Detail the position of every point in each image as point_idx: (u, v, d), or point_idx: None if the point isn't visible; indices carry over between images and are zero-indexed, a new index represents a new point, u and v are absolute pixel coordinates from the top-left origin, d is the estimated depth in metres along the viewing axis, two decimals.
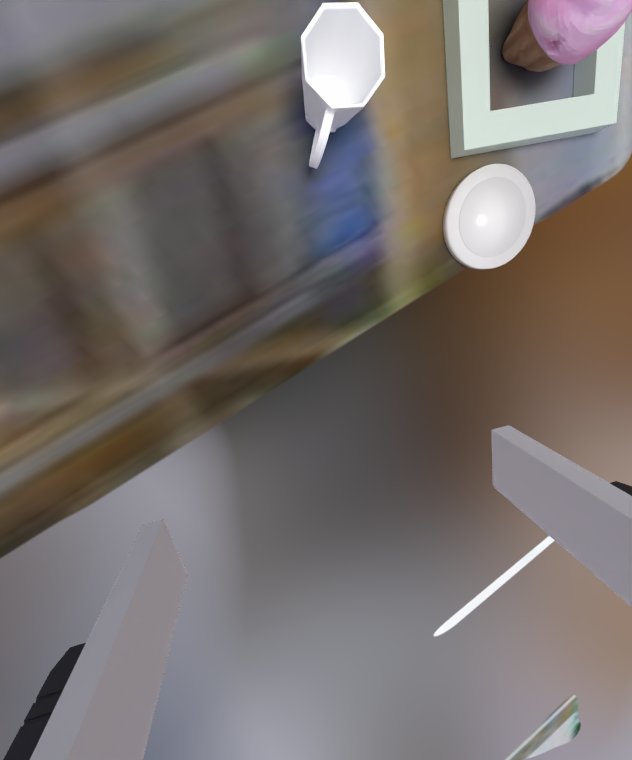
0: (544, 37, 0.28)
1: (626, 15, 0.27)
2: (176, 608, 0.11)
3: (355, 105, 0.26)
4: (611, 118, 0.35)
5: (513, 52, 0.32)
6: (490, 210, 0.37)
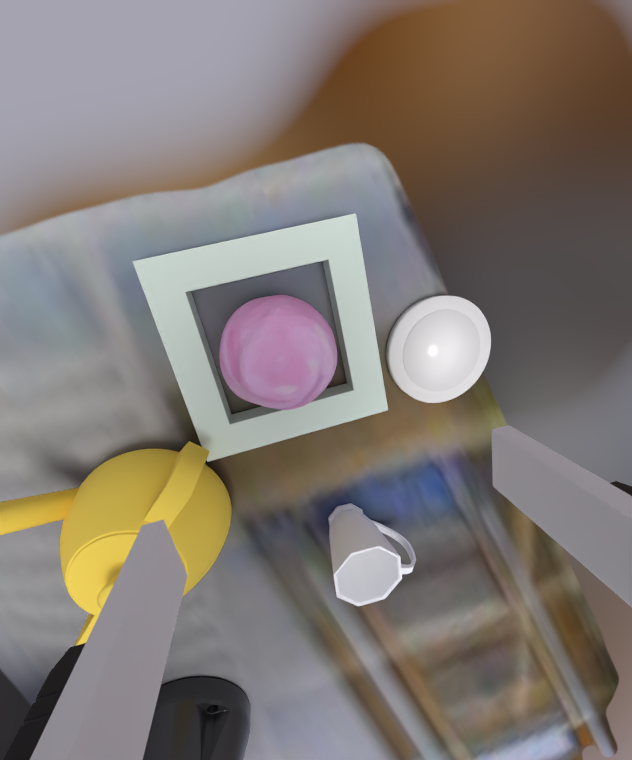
0: None
1: (317, 324, 0.22)
2: (176, 608, 0.11)
3: (399, 562, 0.31)
4: (351, 223, 0.27)
5: None
6: (434, 357, 0.33)
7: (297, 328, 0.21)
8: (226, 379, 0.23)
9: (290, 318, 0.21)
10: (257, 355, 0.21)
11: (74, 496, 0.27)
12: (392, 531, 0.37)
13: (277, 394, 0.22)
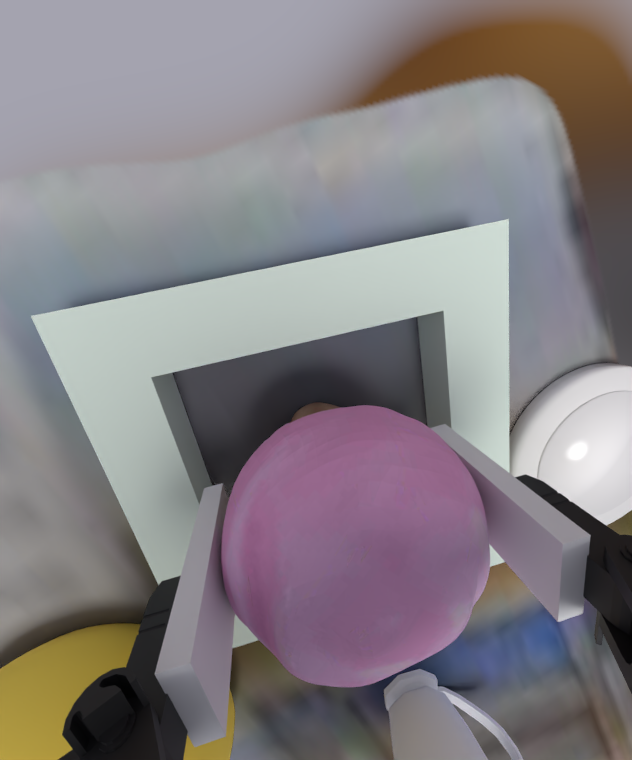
0: None
1: (474, 508, 0.09)
2: None
3: None
4: (497, 239, 0.13)
5: None
6: (588, 468, 0.19)
7: (435, 537, 0.08)
8: None
9: (418, 512, 0.08)
10: (325, 611, 0.08)
11: None
12: (483, 714, 0.24)
13: (365, 680, 0.09)
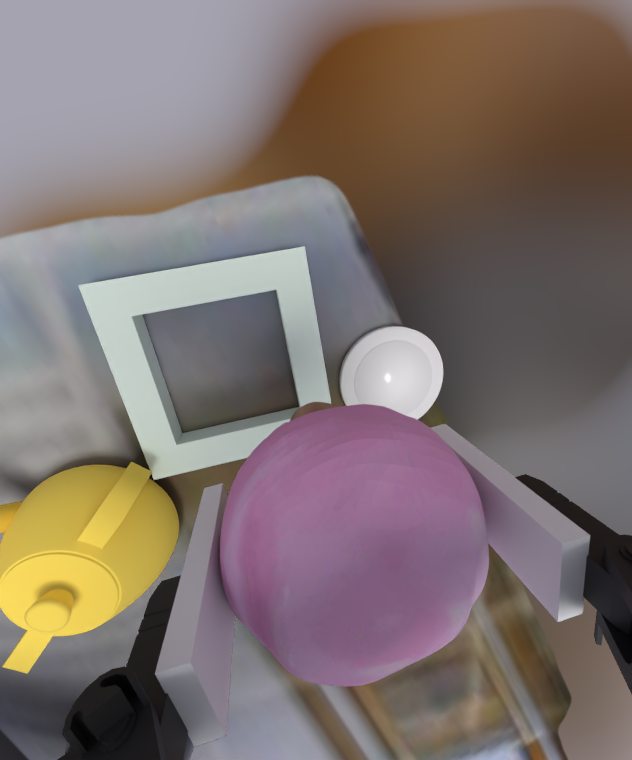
0: None
1: (472, 507, 0.09)
2: None
3: None
4: (300, 255, 0.27)
5: None
6: (385, 386, 0.33)
7: (433, 535, 0.08)
8: (235, 613, 0.10)
9: (416, 511, 0.08)
10: (323, 610, 0.08)
11: (16, 510, 0.28)
12: None
13: (363, 679, 0.09)
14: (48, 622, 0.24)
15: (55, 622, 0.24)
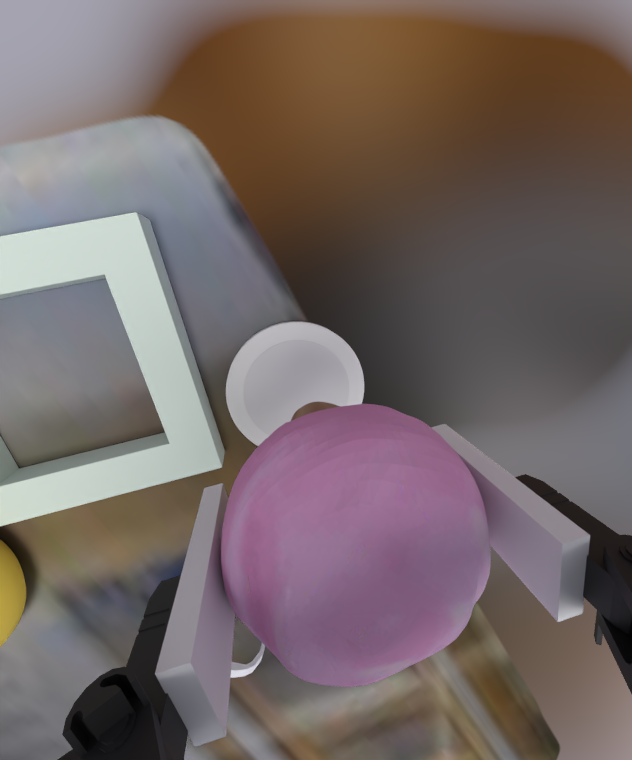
0: None
1: (474, 507, 0.09)
2: None
3: None
4: (132, 225, 0.19)
5: None
6: (287, 400, 0.26)
7: (435, 535, 0.08)
8: (236, 614, 0.10)
9: (418, 511, 0.08)
10: (325, 611, 0.08)
11: None
12: None
13: (365, 680, 0.09)
14: None
15: None
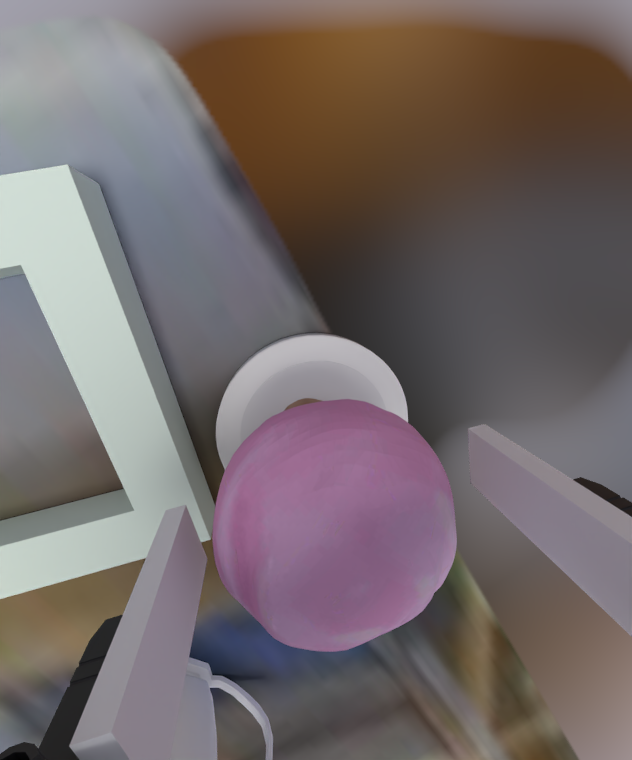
0: None
1: (439, 491, 0.10)
2: (199, 588, 0.12)
3: None
4: (61, 186, 0.12)
5: None
6: None
7: (401, 514, 0.09)
8: (225, 586, 0.11)
9: (386, 492, 0.09)
10: (303, 578, 0.09)
11: None
12: (253, 704, 0.23)
13: (339, 645, 0.10)
14: None
15: None
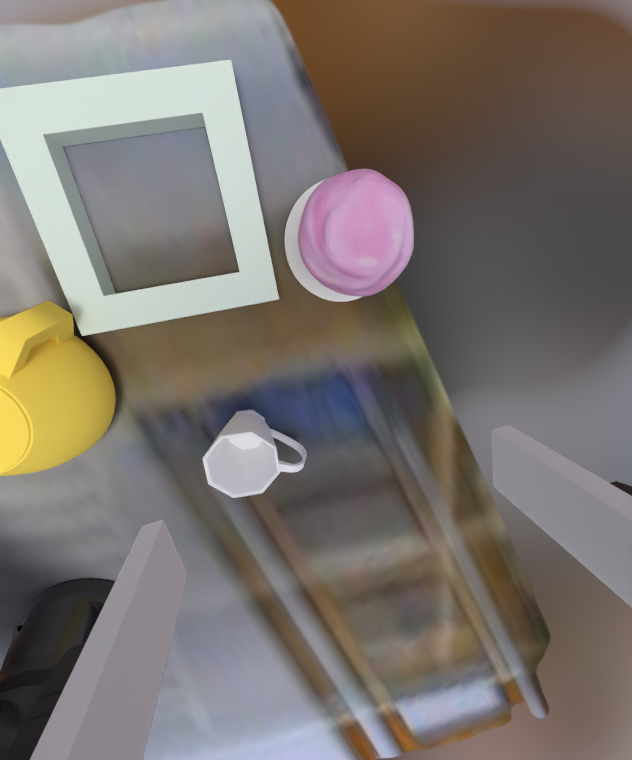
0: None
1: (404, 197, 0.22)
2: (176, 608, 0.11)
3: (275, 453, 0.29)
4: (226, 71, 0.25)
5: None
6: None
7: (386, 195, 0.21)
8: (306, 251, 0.23)
9: (380, 184, 0.21)
10: (345, 219, 0.21)
11: None
12: (293, 440, 0.36)
13: (358, 266, 0.22)
14: None
15: None
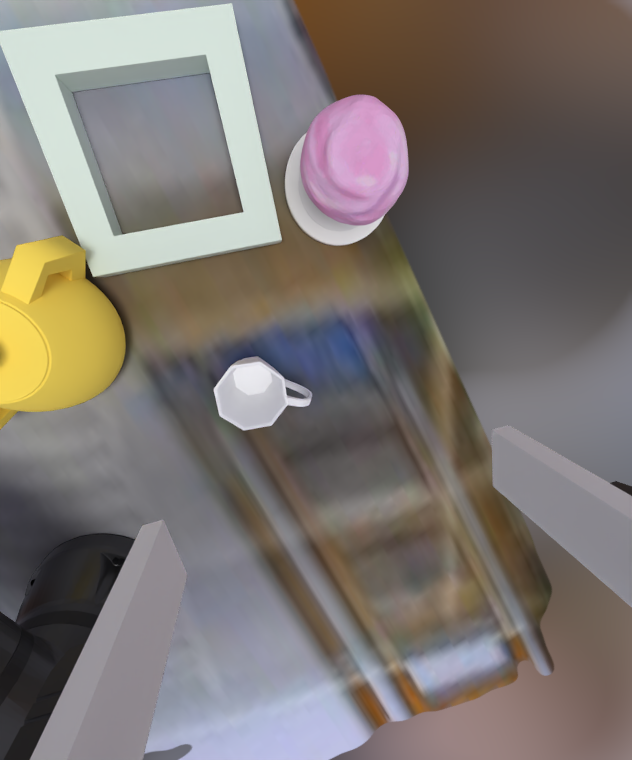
0: None
1: (398, 120, 0.24)
2: (176, 608, 0.11)
3: (283, 384, 0.31)
4: (228, 14, 0.26)
5: None
6: None
7: (382, 116, 0.23)
8: (308, 175, 0.25)
9: (377, 105, 0.23)
10: (345, 138, 0.23)
11: None
12: (297, 384, 0.37)
13: (358, 185, 0.24)
14: None
15: None
